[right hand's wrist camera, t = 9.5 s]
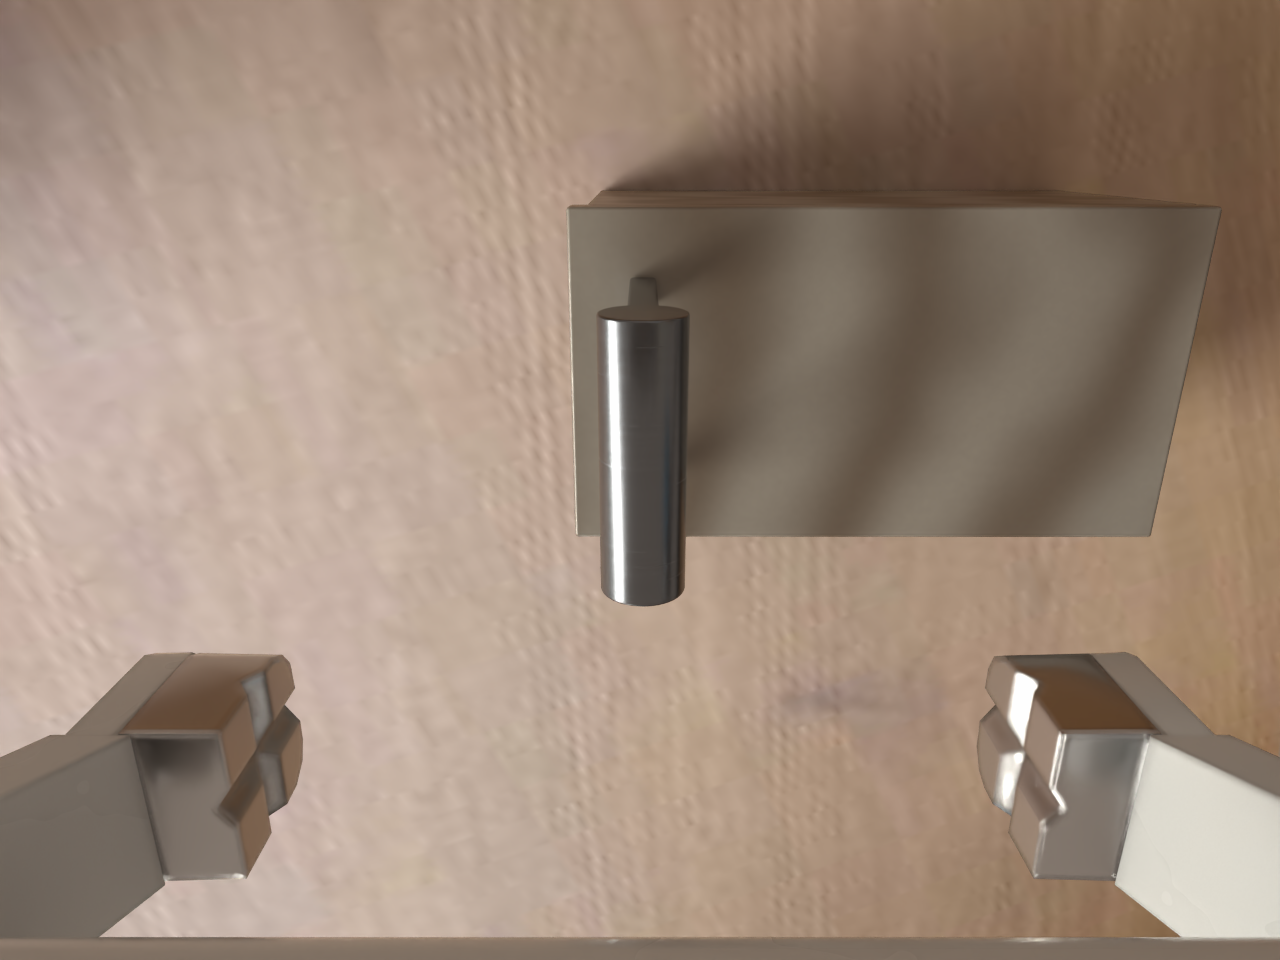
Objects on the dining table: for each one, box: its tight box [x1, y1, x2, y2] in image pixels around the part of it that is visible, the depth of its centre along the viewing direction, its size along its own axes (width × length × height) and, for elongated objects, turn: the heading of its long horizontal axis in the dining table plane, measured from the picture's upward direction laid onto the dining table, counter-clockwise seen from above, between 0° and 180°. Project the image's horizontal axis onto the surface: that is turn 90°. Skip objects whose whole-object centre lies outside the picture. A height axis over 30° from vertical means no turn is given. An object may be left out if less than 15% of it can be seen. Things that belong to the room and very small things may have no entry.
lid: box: [566, 205, 1222, 606], centre depth 22 cm, size 17×9×8 cm, turn 90°
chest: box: [588, 191, 1196, 205], centre depth 30 cm, size 17×9×9 cm, turn 90°
